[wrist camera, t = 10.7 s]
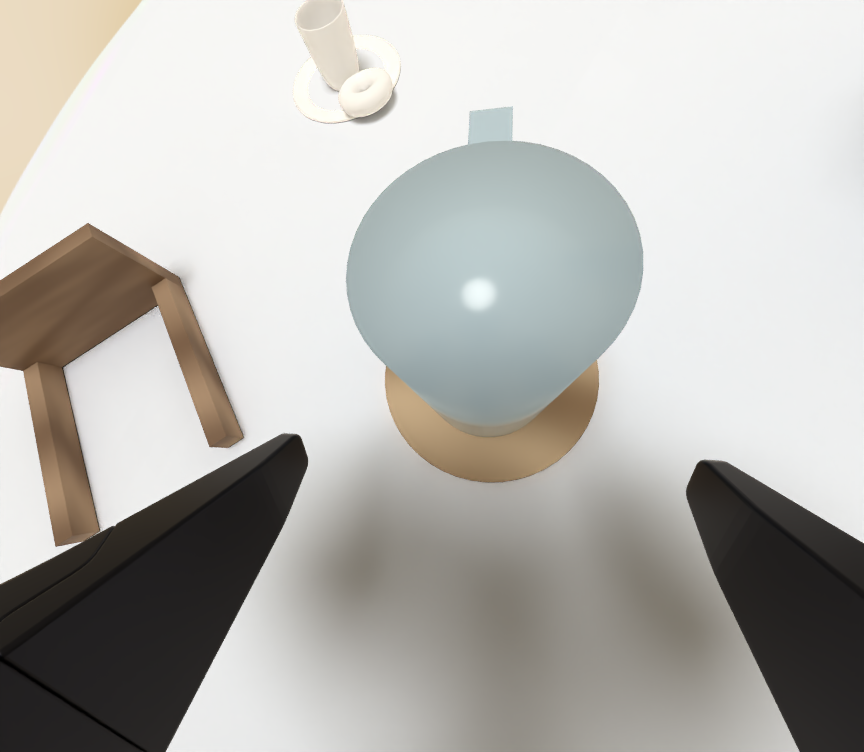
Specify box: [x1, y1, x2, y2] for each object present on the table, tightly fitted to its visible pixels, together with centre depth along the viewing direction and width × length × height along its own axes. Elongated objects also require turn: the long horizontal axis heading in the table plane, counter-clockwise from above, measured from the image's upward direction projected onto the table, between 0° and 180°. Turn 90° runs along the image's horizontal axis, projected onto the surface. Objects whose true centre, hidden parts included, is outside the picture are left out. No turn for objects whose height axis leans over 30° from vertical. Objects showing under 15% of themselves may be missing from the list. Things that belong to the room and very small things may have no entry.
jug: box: [346, 106, 643, 437], centre depth 11 cm, size 9×6×10 cm, turn 176°
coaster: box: [385, 360, 599, 482], centre depth 16 cm, size 10×10×1 cm
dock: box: [0, 223, 244, 547], centre depth 17 cm, size 12×10×5 cm
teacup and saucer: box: [293, 0, 401, 123], centre depth 21 cm, size 9×8×4 cm
